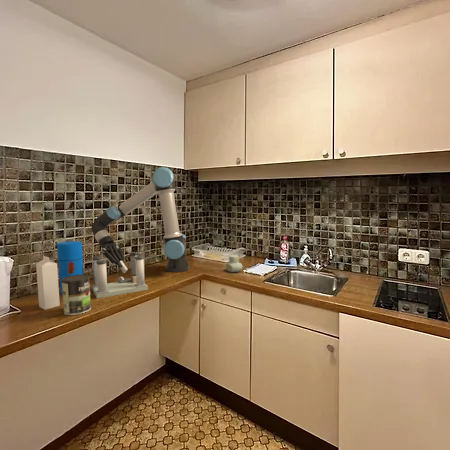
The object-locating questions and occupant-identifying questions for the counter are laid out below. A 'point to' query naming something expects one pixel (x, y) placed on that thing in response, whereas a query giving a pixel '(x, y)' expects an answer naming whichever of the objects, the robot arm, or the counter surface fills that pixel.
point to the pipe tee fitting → (234, 264)
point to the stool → (117, 288)
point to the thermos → (69, 260)
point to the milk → (47, 284)
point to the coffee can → (76, 294)
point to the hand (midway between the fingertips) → (125, 271)
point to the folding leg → (133, 268)
